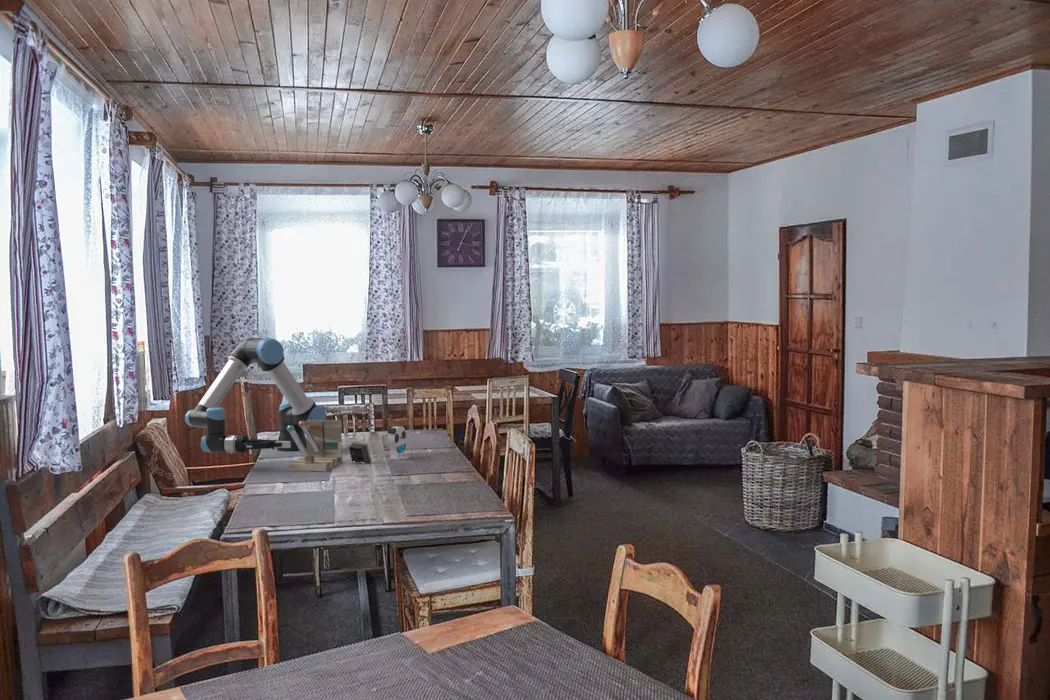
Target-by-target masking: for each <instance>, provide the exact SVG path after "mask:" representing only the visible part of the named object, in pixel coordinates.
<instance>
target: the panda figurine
mask: <svg viewBox="0 0 1050 700" xmlns="http://www.w3.org/2000/svg"><path fill="white" fill-rule="evenodd" d="M406 428H407V427H406V424H397V425H396V426H395V425H394V426H391V427H388V428H387V431H386V432H387V444H388V447H389V449H390V451H389V452H390V456H391V458H399V455H401V456H402V455H404V456H405V449H406V443H405V442H406V439H407V438H406V437H407V433H406Z"/></svg>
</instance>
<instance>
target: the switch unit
mask: <svg viewBox="0 0 1050 700" xmlns="http://www.w3.org/2000/svg"><path fill="white" fill-rule="evenodd" d="M306 425H307V427H308V429H309V431H310V432H311V434H312V436H313V437H314V439H315V441H316V443H317V444H318V446H319V448H320V449H321V451H316V452H315V450H314V449H313V447H312V445H311V443H310V442H309V440H308V438H307V436H306V435H305V437H306V439H307V448H306V450H307V452H308V454H309V455H310V457H305V458H304V457H303V456H302V457H300V458H299V459H296V460H294V461H293V462H291V463H289V464H288V471H289V472H310V471H326V470H327V471H329V470H331V469H332V468H334V467H336V466H337V465H339V464H340V462H341V463H342V462H343V441H342V440H343V439H342V437H343V435H342V431H343V430H342V419H326V420H306ZM338 463H339V464H338ZM335 465H336V466H335ZM330 468H331V469H330ZM328 469H329V470H328ZM327 471H326V472H327Z"/></svg>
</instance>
